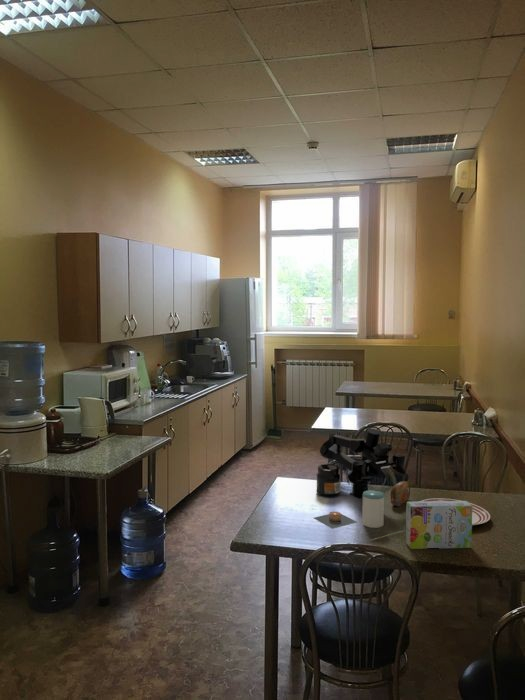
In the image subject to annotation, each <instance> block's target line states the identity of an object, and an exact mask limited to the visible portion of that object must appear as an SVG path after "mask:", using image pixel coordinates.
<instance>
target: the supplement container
mask: <svg viewBox="0 0 525 700" xmlns="http://www.w3.org/2000/svg"><path fill="white" fill-rule="evenodd" d="M340 469H341V467H340V466H339V465H336V464H330V463H329V464H328V463H327V464H320V465H318V466H317V473H316V489H315V490H316V494H317V495H318V496H320V497H324V498H335V497H338V496H340V494H341V479H342V478H341V477H342V476H341V473H340V472H341V470H340Z"/></svg>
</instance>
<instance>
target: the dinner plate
mask: <svg viewBox="0 0 525 700" xmlns="http://www.w3.org/2000/svg"><path fill="white" fill-rule="evenodd" d="M421 501H461V500H459V499H453V498H443V497H442V498H441V497H440V498H439V497H436V498H435V497H433V498H426V499H422V500H421ZM467 502H468V503H469V504H471V505H472V527H473V526H477V525H482V524H485V523H487V522H489V521H490V519H491V514H490V513H489V511H488V510H486V509H485V508H483V507H481V506H479V505H477V504H475V503H471V502H469V501H467Z"/></svg>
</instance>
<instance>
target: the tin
mask: <svg viewBox="0 0 525 700" xmlns="http://www.w3.org/2000/svg"><path fill="white" fill-rule="evenodd" d="M410 497H411V485H410V482H409V481H399V482H398V483H396V484H395V485H393V486H392V488H391V490H390V504H391V505H392V506H395V507H401V506H403V505H404V504H405V503H407V502H409V499H410ZM406 501H407V502H406ZM403 503H404V504H403Z"/></svg>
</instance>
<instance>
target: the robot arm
mask: <svg viewBox="0 0 525 700" xmlns="http://www.w3.org/2000/svg"><path fill="white" fill-rule="evenodd" d="M381 435H382V432H381V430H379V429H375V428H372V427H367V428H366V429H365V436H364V437H365V438H350V437H346V436H343V435H341V434H337V435H336V434H334V435H331V436H330V437H329V438H328V439H327V440H326V441H325V442H323V444H322V445H321V446H320V448H319V453H320V455H321V457H323V458H325V459H329V460H334V461H335V462H337V463H338V464H339V465H341V466H343V467H344V468H345V469H347V470H349V471H350V474H349V475H348V481H349V482H351V483H352V492H349V495H351V496H353V497H355V498H358V499H361V498H362V499H363V492H364V491H368V490H369V485H368V484H369V483H368V482H372V479H373V478H374V477H375V478H379V479H380V478H381V479H387V475H386V474H385V472H383V471H382V470H387V468H392V469H393V470H394V471H395V472H396V473H399V474H401V475H406V473H407V472H406V470H405V468H404V466H405V459H406V457H405V455H403V454H402V453H399V454H394V455H393V456H392V460H388V459H389V456H390V455H389V452H391V451H392V449H393V446H392V444H391V443H390V442H380V441H381V440H380V439H381ZM342 447H343V448H348V449H349V450H350V452H352V453H354V454H361V460H355V459H354V458H351V457H350V456H349V455H347V454H345V453H344V452H343V451H341V449H342Z"/></svg>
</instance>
